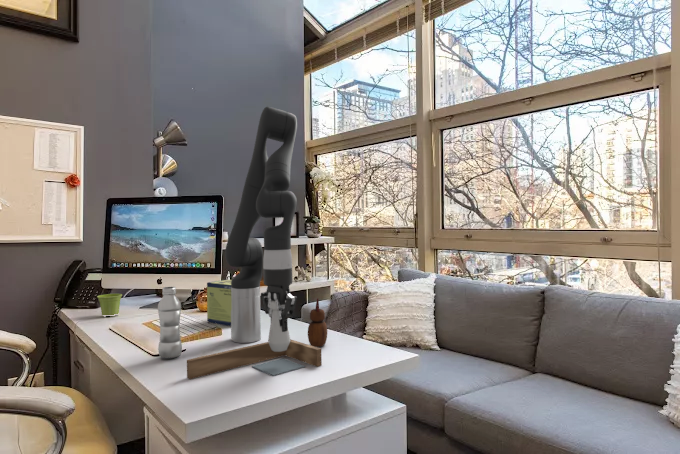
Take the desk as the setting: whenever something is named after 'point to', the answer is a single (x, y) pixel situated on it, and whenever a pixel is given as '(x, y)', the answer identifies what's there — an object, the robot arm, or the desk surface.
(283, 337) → the salt shaker
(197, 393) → the desk surface
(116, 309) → the plant pot
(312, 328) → the wooden figurine
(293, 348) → the wooden l-shaped bracket
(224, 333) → the desk surface
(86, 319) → the desk surface
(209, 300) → the protein box
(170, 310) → the plastic bottle
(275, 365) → the pad
